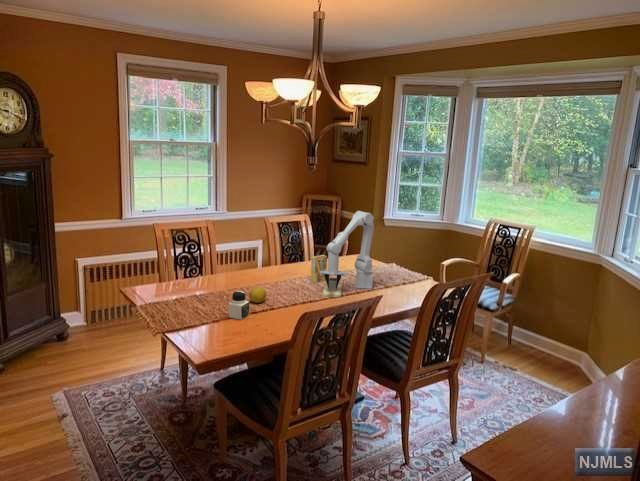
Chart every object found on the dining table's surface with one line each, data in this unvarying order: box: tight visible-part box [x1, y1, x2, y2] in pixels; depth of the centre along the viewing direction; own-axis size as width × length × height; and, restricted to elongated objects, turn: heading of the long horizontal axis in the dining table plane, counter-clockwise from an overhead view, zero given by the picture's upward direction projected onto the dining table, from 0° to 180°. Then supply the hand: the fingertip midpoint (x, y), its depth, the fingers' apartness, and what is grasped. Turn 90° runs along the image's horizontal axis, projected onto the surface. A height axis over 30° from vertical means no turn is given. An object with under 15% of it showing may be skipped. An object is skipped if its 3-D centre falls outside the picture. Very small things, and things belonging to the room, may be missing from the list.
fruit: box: [248, 286, 267, 304], centre depth 251 cm, size 9×8×8 cm
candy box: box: [310, 254, 328, 284], centre depth 289 cm, size 9×4×15 cm, turn 129°
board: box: [322, 283, 343, 298], centre depth 272 cm, size 10×19×1 cm, turn 176°
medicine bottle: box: [228, 290, 250, 321], centre depth 231 cm, size 7×7×12 cm
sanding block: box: [329, 277, 337, 292], centre depth 270 cm, size 4×7×6 cm, turn 176°
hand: (332, 287), depth 270 cm, fingers closed on sanding block, 4 cm apart
